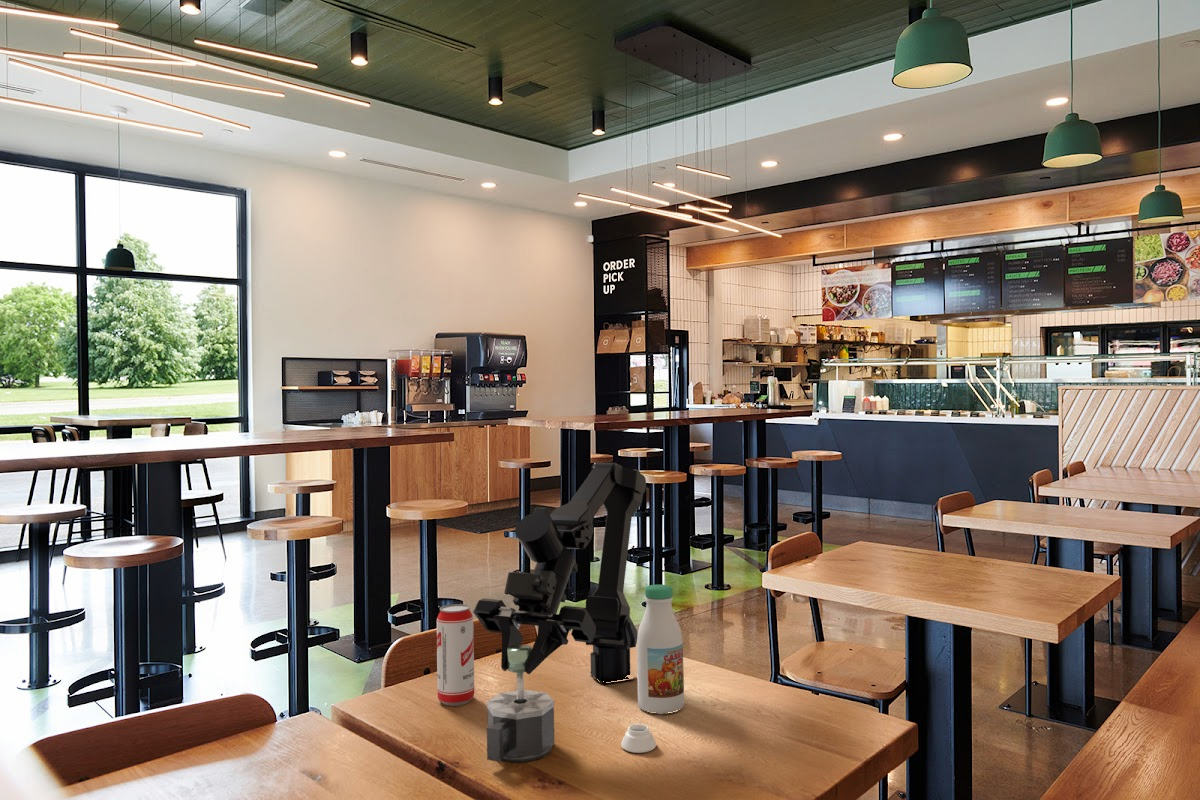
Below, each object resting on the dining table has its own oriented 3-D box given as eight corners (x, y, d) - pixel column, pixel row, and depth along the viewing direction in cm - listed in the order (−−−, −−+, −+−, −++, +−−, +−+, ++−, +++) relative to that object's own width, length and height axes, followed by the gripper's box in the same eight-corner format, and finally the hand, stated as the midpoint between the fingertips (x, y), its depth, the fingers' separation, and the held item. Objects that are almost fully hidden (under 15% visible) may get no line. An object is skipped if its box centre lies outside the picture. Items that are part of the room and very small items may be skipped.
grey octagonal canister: (510, 733, 123) (509, 687, 123) (563, 741, 120) (562, 694, 120) (465, 765, 112) (464, 715, 112) (522, 776, 108) (521, 724, 108)
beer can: (478, 694, 141) (477, 603, 141) (469, 707, 134) (467, 612, 135) (443, 693, 141) (442, 603, 142) (432, 706, 135) (431, 611, 135)
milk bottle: (631, 712, 131) (629, 590, 131) (646, 696, 138) (644, 580, 138) (676, 718, 128) (674, 593, 128) (689, 702, 135) (687, 583, 136)
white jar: (653, 756, 114) (657, 742, 119) (652, 735, 114) (657, 722, 119) (618, 754, 115) (624, 740, 120) (618, 733, 115) (624, 720, 120)
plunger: (516, 709, 120) (515, 643, 120) (537, 712, 118) (536, 646, 118) (503, 717, 116) (502, 650, 117) (525, 721, 115) (524, 652, 115)
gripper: (478, 546, 125) (438, 635, 115) (586, 553, 118) (553, 649, 107) (505, 587, 132) (469, 674, 122) (608, 595, 125) (579, 689, 114)
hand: (515, 671), depth 116 cm, fingers closed on plunger, 4 cm apart
